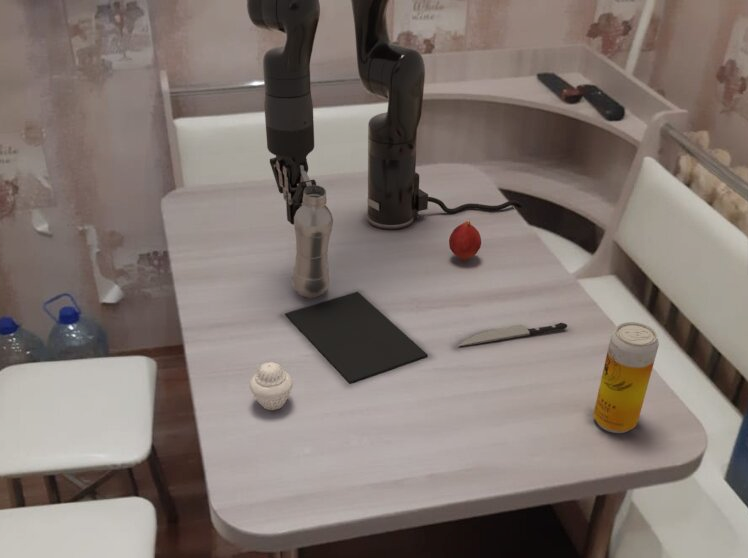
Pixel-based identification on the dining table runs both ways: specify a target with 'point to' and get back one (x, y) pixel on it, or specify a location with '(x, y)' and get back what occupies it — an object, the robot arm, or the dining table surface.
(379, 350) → the rubber mat
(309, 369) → the dining table surface
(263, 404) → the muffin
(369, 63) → the robot arm
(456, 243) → the onion
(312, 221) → the plastic bottle
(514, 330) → the chef's knife
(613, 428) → the beer can
